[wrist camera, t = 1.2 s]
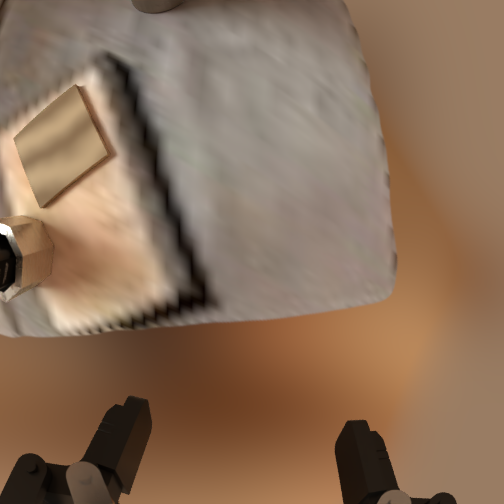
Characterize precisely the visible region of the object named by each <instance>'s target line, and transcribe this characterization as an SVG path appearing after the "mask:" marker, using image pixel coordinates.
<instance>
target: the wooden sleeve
mask: <svg viewBox="0 0 504 504" xmlns="http://www.w3.org/2000/svg"><path fill="white" fill-rule="evenodd" d="M0 234H4V235H6V236H7V238H8V241H9V243H10V245H11V247H12V249H13V252H14V254H15V256H16V275H15V283H13V284H10V285H8V286H6V287H4V288H2V289H0V299H1V300H3V301H5V302H8V301H10V300H12V299H14V298H15V297H17V296H19V295H21V294H23V293H25V292H26V291H28V290H30V289H32V288H34V287H36V286H37V285H38V284H39V283H40V282H41V281H43V280H44V279H45V278H46V277H48V276H49V275H50V274H51V269H52V258H53V249H54V245H53V243H52V241H51V240H50V238H49V236H48V234H47V231H46V229H45V227H44V225H43V223H42V221H39V220H35V219H32V218H29V217H26V216H23V215H21V216H13V217H6V218H0Z"/></svg>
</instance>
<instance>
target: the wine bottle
mask: <svg viewBox="0 0 504 504" xmlns="http://www.w3.org/2000/svg"><path fill="white" fill-rule="evenodd" d="M15 275H16V256H15V254H14V252H13V249H12V247H11V245H10V243H9V241H8V238H7V236H6V235H4V234H0V289H2V288H4V287H6V286H8V285H10V284H13V283H15Z"/></svg>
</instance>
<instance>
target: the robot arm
mask: <svg viewBox="0 0 504 504" xmlns="http://www.w3.org/2000/svg"><path fill="white" fill-rule="evenodd" d="M131 1H132V3H133V5H134V6H135V8H136V9H138V10H139V11H142V12H146V13H158V12H163V11H167V10H169V9H172V8H174V7H176V6H178V5H179V4H181V3H182V2H183V1H184V0H131ZM151 429H152V420H151V414H150V408H149V403H148V400H147V399H143V398H139V397H135V396H128V398H127V400H126V402H125V403H124V406H121V405H117V404H115V405H114V406H113V407H112V408H110V409H109V410H108V411H107V412H106V414H105V416H104V418H103V420H102V423H100V425H99V427H98V430H97V431H96V433H95V435H94V437H93V439H92V441H91V443H90V445H89V447H88V449H87V451H86V453H85V455H84V457H83V458H82V459H81V460H80V461H79V462H76V463H73V464H72V465H69V466H64V465H57V464H50V463H45V461H44V460H43V459H42V458H41V457H40V456H38V455H36V454H32V453H29V454H24V455H22V456H21V457H20V458H19V459H18V461H17V462H16V464H15V467H14V468H13V470H12V472H11V474H10V476H9V478H8V481H7V483H6V485H5V487H4V489H3V491H2V493H1V495H0V504H120V503H119V501H118V500H119V497H120V494H121V492H122V493H125V494H128V495H129V494H130V491H131V488H132V485H133V482H134V479H135V476H136V473H137V470H138V467H139V464H140V461H141V459H142V456H143V453H144V450H145V447H146V445H147V442H148V439H149V436H150V434H151ZM335 456H336V462H337V467H338V473H339V479H340V485H341V491H342V497H343V503H344V504H457V503H456V500H455V498H454V497H453V496H452V495H450V494H449V493H445V492H444V493H443V492H442V493H438V494H436V495H435V496H433V497H432V498H431V499H426V498H425V499H423V498H411V497H409V496H408V495H407V494H406V493H405V492H403V491H400V489H399V488H398V485H397V481H396V478H395V475H394V471H393V469H392V465H391V462H390V459H389V456H388V452H387V451H386V446H385V443H384V440H383V439H382V437H381V436H380V435H379V434H378V433H377V432H376V431H370V429H369V426H368V423H367V421H366V420H350V421H347V422H346V424H345V426H344V428H343V429H342V431H341V433H340V435H339V437H338V439H337V441H336V444H335Z"/></svg>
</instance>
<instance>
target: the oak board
mask: <svg viewBox="0 0 504 504" xmlns="http://www.w3.org/2000/svg"><path fill="white" fill-rule="evenodd" d="M13 139H14V142H15V145H16V148H17V151H18V154H19V157H20V160H21V162H22V165H23V168H24V170H25V173H26V176H27V178H28V181H29V183H30V186H31V188H32V191H33V193H34V195H35V198H36V200H37V202H38V204H39V207H40V208H44V207H46V206H47V205H48V204H49V203H50V202H51V201H52V200H54V199H55V198H56V197H57V196H58V195H59V194H61V193H62V192H63V191H64V190H65V189H67V188H68V187H69V186H70V185H71V184H73V183H74V182H75V181H76V180H78V179H79V178H80V177H82V176H83V175H84V174H85V173H87V172H88V171H89V170H91V169H92V168H93V167H95V166H96V165H97V164H99V163H100V162H101V161H103V160H104V159H105V158H107V157H108V156H110V153H109V151H108V149H107V147H106V145H105V143H104V141H103V139H102V137H101V135H100V133H99V131H98V129H97V127H96V125H95V122H94V120H93V118H92V116H91V114H90V112H89V110H88V107H87V105H86V103H85V101H84V99H83V96H82V94H81V92H80V89H79V87H78V86H77V85H76V84H75V85H73V86H72V87H71V88H69V89H68V90H67V91H66V92H64V93H63V94H62V95H61V96H59V97H58V98H57V99H56V100H55V101H53V102H52V103H51V104H50V105H49V106H47V107H46V108H45V109H44V110H43V111H42V112H41V113H40V114H38V115H37V116H36V117H35V118H34V119H33V120H32V121H31V122H30V123H29V124H28V125H27V126H26V127H24V128H23V129H22V130H21V131H20V132H19V133H18V134H17V135H16V136H15V137H14V138H13Z"/></svg>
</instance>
